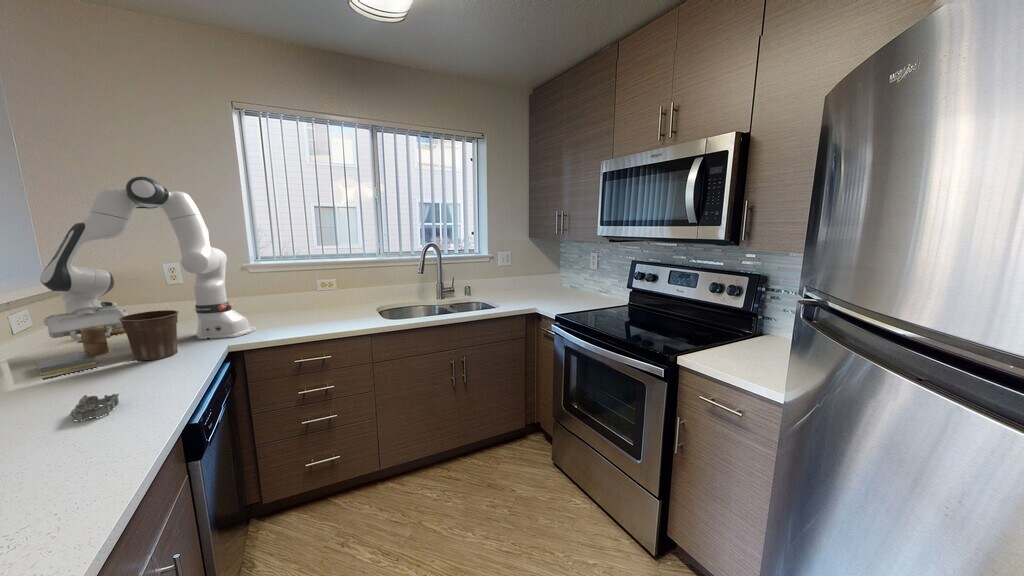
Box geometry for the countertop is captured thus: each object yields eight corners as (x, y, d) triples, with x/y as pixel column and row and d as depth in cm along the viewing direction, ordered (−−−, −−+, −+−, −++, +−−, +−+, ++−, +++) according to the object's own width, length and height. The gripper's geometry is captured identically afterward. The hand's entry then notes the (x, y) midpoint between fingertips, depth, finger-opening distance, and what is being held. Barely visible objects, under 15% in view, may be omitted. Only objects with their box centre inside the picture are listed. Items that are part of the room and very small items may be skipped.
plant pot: (195, 351, 149) (188, 311, 146) (144, 365, 134) (136, 321, 131) (168, 347, 154) (161, 308, 152) (116, 361, 139) (108, 318, 137)
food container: (106, 338, 168) (102, 316, 166) (96, 337, 169) (91, 315, 168) (138, 330, 180) (135, 310, 178) (128, 330, 181) (125, 309, 180)
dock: (90, 361, 139) (88, 351, 138) (97, 368, 132) (94, 357, 132) (38, 372, 129) (35, 361, 129) (42, 380, 122) (39, 368, 122)
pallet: (110, 352, 149) (109, 348, 149) (115, 356, 145) (114, 352, 144) (80, 358, 143) (79, 354, 142) (84, 362, 138) (83, 358, 138)
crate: (106, 349, 147) (101, 325, 146) (109, 352, 144) (104, 327, 142) (84, 354, 143) (79, 328, 141) (87, 357, 140) (81, 330, 138)
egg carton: (87, 408, 104) (84, 394, 103) (124, 401, 107) (122, 388, 107) (66, 425, 95) (63, 410, 94) (108, 418, 98) (105, 403, 97)
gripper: (41, 311, 136) (50, 342, 132) (121, 301, 152) (132, 328, 149) (42, 321, 139) (52, 352, 135) (120, 311, 156) (131, 337, 152)
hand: (94, 339), depth 142 cm, fingers closed on crate, 5 cm apart
